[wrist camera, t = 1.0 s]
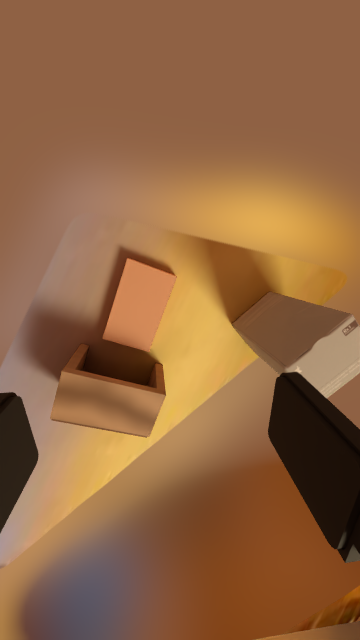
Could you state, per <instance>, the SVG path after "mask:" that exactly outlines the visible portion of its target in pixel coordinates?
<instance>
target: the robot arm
mask: <svg viewBox="0 0 360 640" xmlns="http://www.w3.org/2000/svg"><path fill="white" fill-rule="evenodd" d="M268 435H269V438H270V441H271V443H272V444H273V446H274V448H275V449H276V451H277V453H278V455H279V457H280V458H281V460H282V462H283V464H284V465H285V467H286V469H287V471H288V472H289V474H290V476H291V478H292V480H293V481H294V483H295V485H296V487H297V488H298V490H299V492H300V494H301V495H302V497H303V499H304V501H305V502H306V504H307V506H308V508H309V509H310V511H311V513H312V515H313V516H314V518H315V520H316V522H317V523H318V525H319V527H320V529H321V531H322V532H323V534H324V536H325V538H326V539H327V541H328V543H329V544H330V545H331V546H332V547H333V548H334V549H337V550H338V551H339V553H340V555H341V556H342V558H343V560H344V561H345V563H347V562H354V561H360V429H359V428H358V427H356V426H355V425H354V424H353V423H352V422H351V421H350V420H349V419H348V418H347V417H346V416H345V415H344V414H343V413H342V412H340V411H339V410H338V409H337V408H336V407H335V406H334V405H333V404H332V403H331V402H330V401H329V400H328V399H327V398H326V397H324V396H323V395H322V394H321V393H320V392H319V391H318V390H317V389H316V388H315V387H314V386H313V385H312V384H311V383H310V382H308V381H307V380H306V379H305V378H304V377H303V376H302V375H301V374H300V373H298V372H287V373H281V375H280V377H277V379H276V383H275V389H274V396H273V403H272V409H271V416H270V422H269V428H268ZM37 461H38V450H37V447H36V444H35V440H34V437H33V434H32V431H31V427H30V424H29V421H28V418H27V414H26V411H25V408H24V405H23V401H22V399H21V397H19V396H17V395H16V394H15V393H13V392H10V393H0V533H1V531H2V529H3V527H4V525H5V523H6V521H7V519H8V517H9V515H10V514H11V512H12V510H13V508H14V506H15V504H16V502H17V500H18V498H19V496H20V494H21V493H22V491H23V489H24V487H25V485H26V483H27V481H28V479H29V477H30V475H31V474H32V472H33V470H34V468H35V466H36V464H37ZM256 640H360V621H359V622H352V623H346V624H341V625H335V626H329V627H324V628H318V629H312V630H307V631H301V632H295V633H290V634H284V635H278V636H273V637H267V638H261V639H256Z"/></svg>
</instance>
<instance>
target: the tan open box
mask: <svg viewBox="0 0 360 640" xmlns="http://www.w3.org/2000/svg"><path fill="white" fill-rule="evenodd" d="M88 348H89V345H85V344H80V346H79V347H78V349H77V350H76V351H75V353H74V354H73V356H72V357H71V359H70V360H69V362H68V363H67V364H66V366H65V367H64V369H63V370H62V372H61V376H60V380H59V384H58V388H57V392H56V396H55V400H54V404H53V408H52V412H51V416H50V418H51V419H52V420H53V421H59V422H64V423H70V424H75V425H80V426H86V427H91V428H97V429H102V430H108V431H113V432H119V433H124V434H130V435H135V436H141V437H146V438H147V436H148V437H149V436H150V434H151V431H152V429H153V426H154V424H155V421H156V419H157V416H158V414H159V411H160V409H161V406H162V404H163V401H164V399H165V396H166V392H165V383H164V374H163V365H162V364H158V363H155V366H154V368H153V371H152V374H151V377H150V379H149V382H148V385H147V386H144V385H139V384H135V383H131V382H127V381H122V380H118V379H114V378H110V377H105V376H101V375H97V374H93V373H88V372H84V371H82V370H83V366H84V362H85V359H86V355H87V351H88Z"/></svg>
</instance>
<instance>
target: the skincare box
mask: <svg viewBox="0 0 360 640" xmlns="http://www.w3.org/2000/svg"><path fill="white" fill-rule="evenodd" d="M232 326H233V327H234V328H235V330H236V331H237V332H238V333H239V334H240V336H241V337H242V338H243V339H244V340H245V342H246V343H247V344H248V345H249V347H250V348H251V349H252V350H253V351H254V352H255V353H256V354H257V355H258V356H259V357H261V358H262V359H263V360H264V361H265V362H266V363H267V364H268V365H270V366H271V367H272V368H273V369H274V370H275V371H276V372H278V374H280V375H281V373H287V372H298V373H300V374H301V375H302V376H303V377H304V378H305V379H306V380H307V381H308V382H310V383H311V384H312V385H313V386H314V387H315V388H316V389H317V390H318V391H319V392H320V393H321V394H322V395H323V396H324V397H326V398H328V397H329V396H330V395H332V394H333V393H334V392H336V391H337V390H338V389H339V388H341V387H342V386H343V385H345V384H346V383H347V382H349V381H350V380H351V379H352V378H354V377H355V376H356V375H358V374H359V373H360V326H359V324H358V323H357V321H356V319H355V318H354V316H353V314H350V313H346V312H342V311H338V310H334V309H331V308H327V307H323V306H320V305H316V304H313V303H309V302H305V301H302V300H298V299H295V298H291V297H288V296H284V295H281V294H277V293H273V292H268V293H267V294H266V295H265V296H264V297H263V298H262V299H260V300H259V301H258V302H257V303H256V304H255V305H253V306H252V307H251V308H250V309H249V310H248V311H246V312H245V313H244V314H243V315H242V316H241V317H239V318H238V319H237V320H236V321H235V322H234V323H233V324H232Z"/></svg>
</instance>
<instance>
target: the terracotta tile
mask: <svg viewBox="0 0 360 640" xmlns="http://www.w3.org/2000/svg"><path fill="white" fill-rule="evenodd" d="M176 278H177V276H176V275H174V274H171V273H168V272H166V271H163V270H160V269H158V268H155V267H152V266H150V265H147V264H144V263H142V262H139V261H136V260H134V259H131V258H127V261H126V264H125V268H124V271H123V274H122V277H121V280H120V284H119V287H118V290H117V293H116V297H115V300H114V303H113V306H112V309H111V313H110V316H109V319H108V322H107V326H106V329H105V332H104V335H103V338H102V339H105V340H109V341H112V342H116V343H119V344H123V345H126V346H130V347H133V348H137V349H140V350H144V351H147V352H149V350H150V347H151V345H152V342H153V339H154V337H155V334H156V331H157V329H158V326H159V323H160V321H161V318H162V315H163V313H164V310H165V307H166V305H167V302H168V299H169V297H170V294H171V291H172V289H173V286H174V283H175V281H176Z"/></svg>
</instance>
